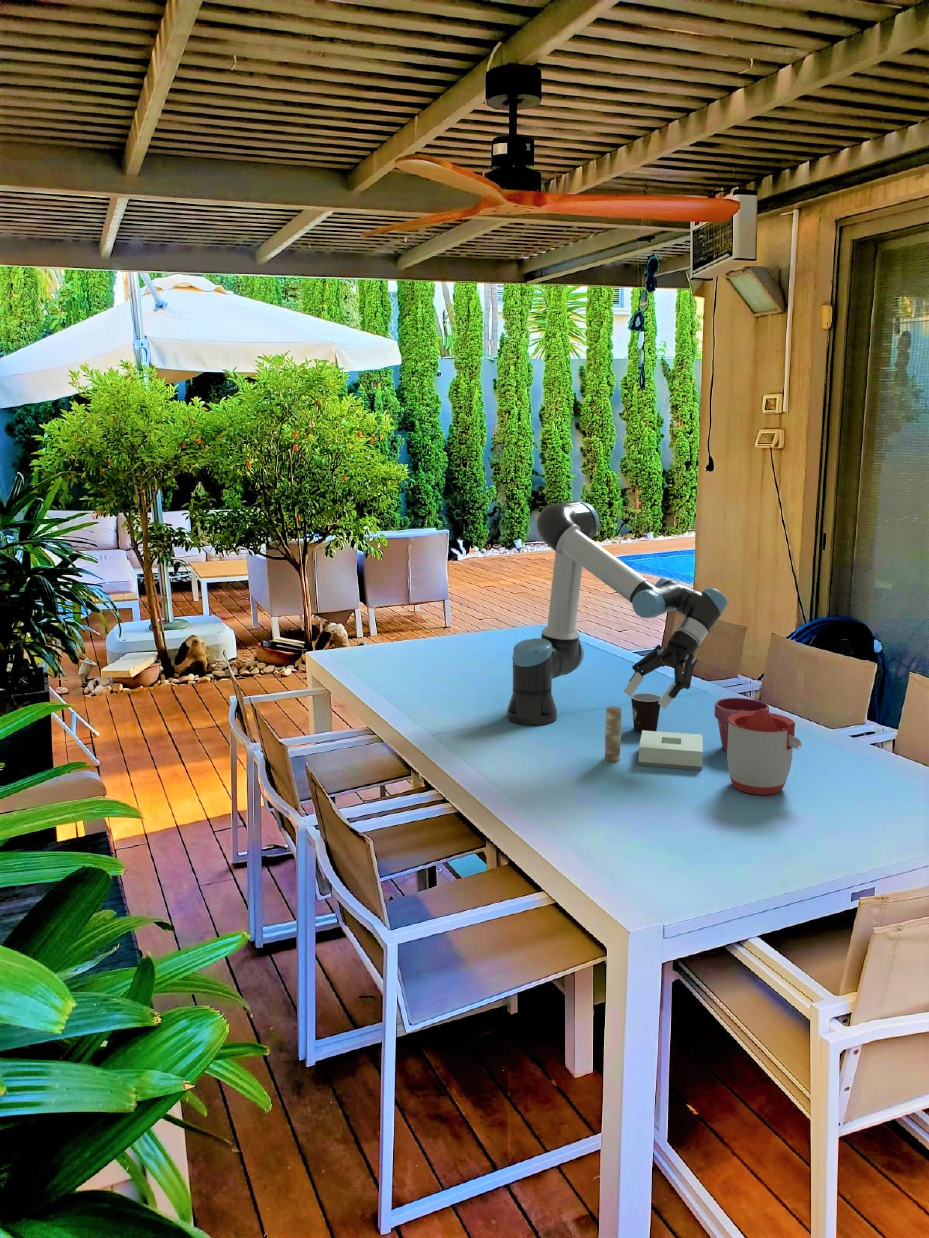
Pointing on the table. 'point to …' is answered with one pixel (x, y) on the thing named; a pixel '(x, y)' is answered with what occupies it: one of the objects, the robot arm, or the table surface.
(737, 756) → the citrus juicer
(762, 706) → the plant pot
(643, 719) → the coffee mug
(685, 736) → the socket block
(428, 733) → the table surface
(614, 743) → the dowel
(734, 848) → the table surface
